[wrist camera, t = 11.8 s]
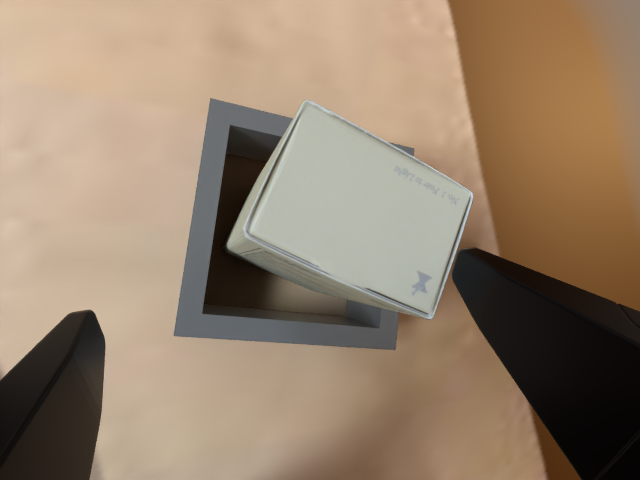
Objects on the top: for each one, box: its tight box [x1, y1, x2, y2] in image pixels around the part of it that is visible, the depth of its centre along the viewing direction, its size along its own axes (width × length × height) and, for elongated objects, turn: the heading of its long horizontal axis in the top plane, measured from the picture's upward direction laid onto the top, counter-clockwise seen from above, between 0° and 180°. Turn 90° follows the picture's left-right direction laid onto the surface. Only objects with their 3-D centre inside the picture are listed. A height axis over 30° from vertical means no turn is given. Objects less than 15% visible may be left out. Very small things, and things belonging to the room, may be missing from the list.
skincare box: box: [223, 100, 474, 320], centre depth 16 cm, size 6×4×12 cm
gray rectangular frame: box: [174, 98, 414, 350], centre depth 20 cm, size 10×10×4 cm
